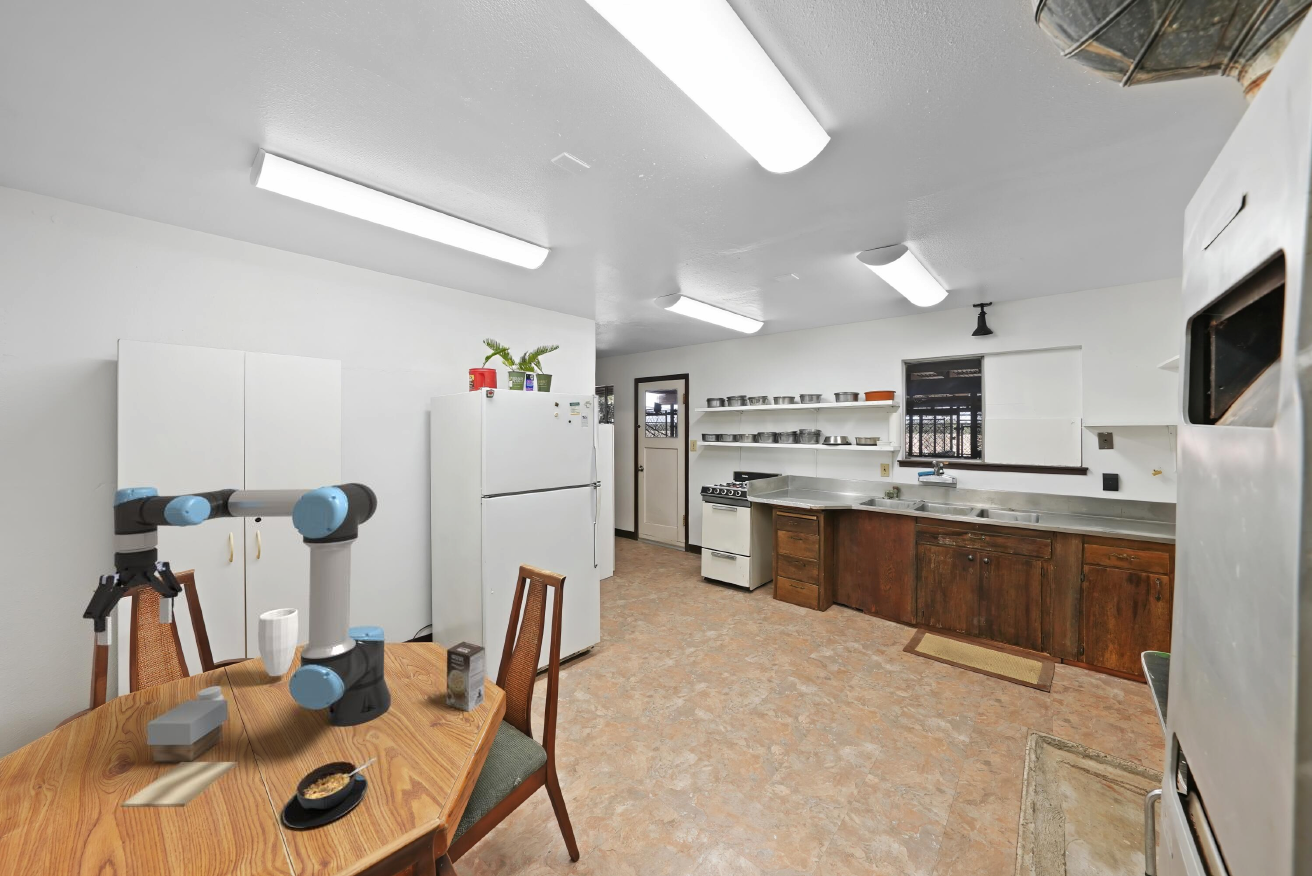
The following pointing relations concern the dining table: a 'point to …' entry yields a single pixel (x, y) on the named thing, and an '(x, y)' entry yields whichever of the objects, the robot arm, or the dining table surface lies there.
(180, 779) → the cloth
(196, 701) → the grey cover
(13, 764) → the dining table surface
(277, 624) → the cup
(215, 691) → the pill bottle
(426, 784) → the dining table surface
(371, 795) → the dining table surface
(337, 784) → the soup bowl
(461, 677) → the coffee box
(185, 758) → the walnut dish
